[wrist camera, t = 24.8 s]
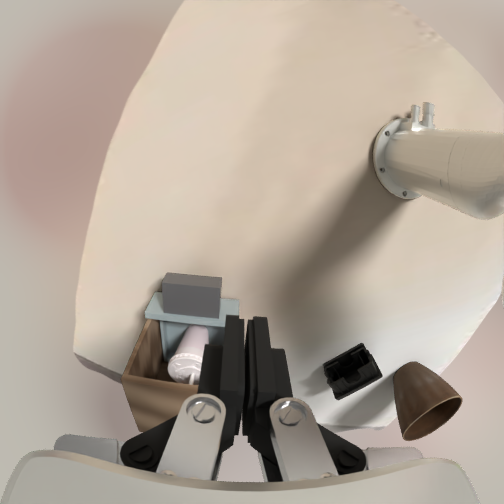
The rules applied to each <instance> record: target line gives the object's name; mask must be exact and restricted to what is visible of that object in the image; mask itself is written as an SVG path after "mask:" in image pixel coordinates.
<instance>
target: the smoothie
mask: <svg viewBox="0 0 504 504" xmlns="http://www.w3.org/2000/svg"><path fill="white" fill-rule="evenodd" d="M205 344H209V334H208V330H207V328H206V327H205V326H204V325H198V324H191V325H189V326H188V328H187V330H186V332H185V334H184V336H183V338H182V340H181V342H180V344H179V346H178V348H177V351H176V352H175V355H174V356H173V357H172V358H171V359H170V360H169V363H168V373H169V375H170V376H171V378H172V379H173V380H175V381H176V382H178V383H182V384H190V385H198V384H199V377H200V371H201V365H202V358H203V352H204V346H205Z"/></svg>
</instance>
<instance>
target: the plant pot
mask: <svg viewBox="0 0 504 504" xmlns="http://www.w3.org/2000/svg"><path fill="white" fill-rule="evenodd" d="M393 383H394V396H395V404H396V410H397V416H398V420H399V425H400V429H401V433H402V437H403V439H404V440H406V441H412V440H416V439H419V438H422V437H424V436H426V435H428V434H430V433H432V432H433V431H435V430H436V429H438V428H439V427H441V426H442V425H443V424H445V423H446V422H447V421H448V420H449V419H450V418H451V417H452V416H453V415H454V414H455V413H456V412H457V411H458V409H459V408H460V406H461V404H462V397H461V396H460V395H459V394H458V393H457V392H456V391H455V390H454V389H453V388H452V387H451V386H450V385H449V384H448V383H447V382H446V381H444V380H443V379H442V378H441V377H440V376H438V375H437V374H436V373H434V372H433V371H431V370H430V369H428V368H427V367H425V366H423V365H422V364H420V363H418V362H410V363H407V364H405V365H404V366H402V367H401V368H400V369H399V370H398V371H397V372H396V374H395V375H394V378H393Z"/></svg>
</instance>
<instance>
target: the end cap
mask: <svg viewBox="0 0 504 504" xmlns="http://www.w3.org/2000/svg"><path fill="white" fill-rule="evenodd" d="M323 366H324V368H325V369H324V371H325V373H324V374H325V376H326V377H327V378H328V379H327V383H328V384H329V386H330V387H331V388H332V390H333V393H334V396H335V399H337V400H340V399H342V398H344V397H346V396H348V395H350V394H352V393H354V392H356V391H358V390H360V389H362V388H364V387H366V386H367V385H369V384H371V383H373V382H375V381H376V380H378V379H380V378H382V373H381V371H380V369H379V368H378V366H377V364H376V362H375V360H374V358H373V356H372V354H370V353H369V351H368V350H366V348H365V346H364V344H363V343H360V344H358V345H357V346H355V347H353V348H351V349H350V350H348V351H346V352H344V353H342V354H341V355H339V356H337V357H335V358H333V359H331V360H330V361H328V362H326V363H324V364H323Z"/></svg>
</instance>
